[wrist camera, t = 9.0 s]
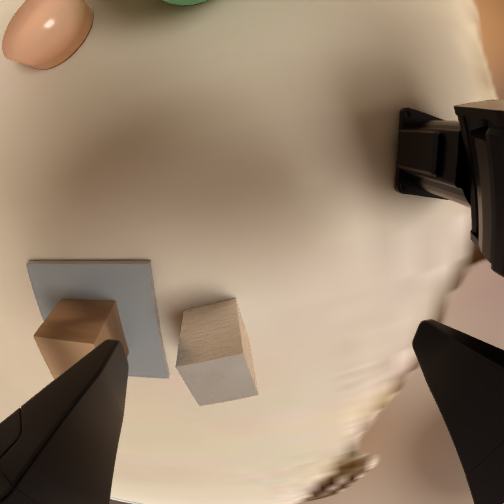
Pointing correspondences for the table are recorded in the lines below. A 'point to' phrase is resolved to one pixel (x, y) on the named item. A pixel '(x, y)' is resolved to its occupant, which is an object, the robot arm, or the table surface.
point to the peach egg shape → (46, 31)
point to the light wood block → (216, 354)
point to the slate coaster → (109, 289)
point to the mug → (184, 2)
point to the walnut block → (77, 331)
